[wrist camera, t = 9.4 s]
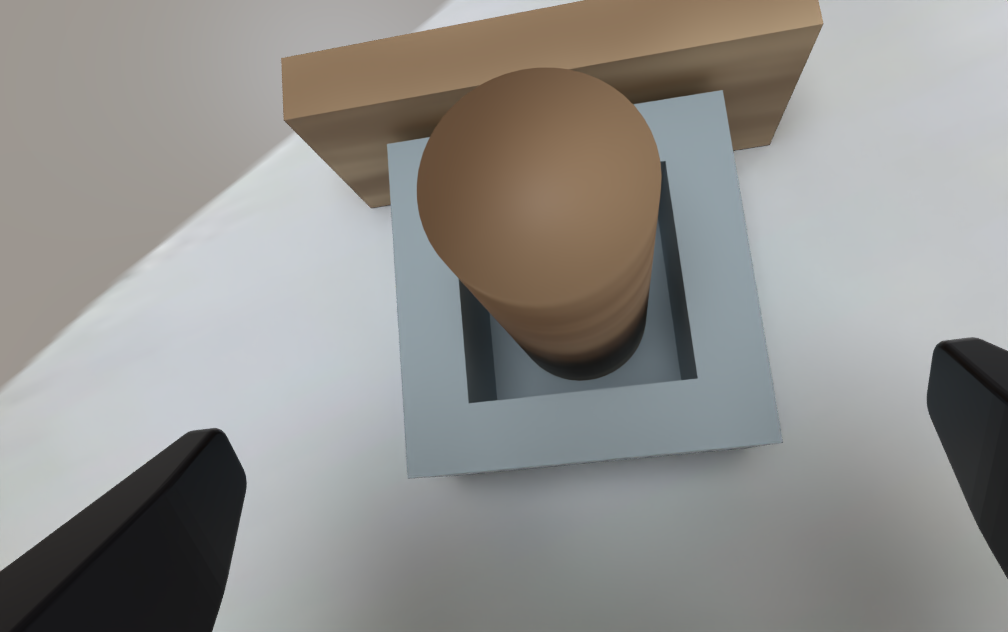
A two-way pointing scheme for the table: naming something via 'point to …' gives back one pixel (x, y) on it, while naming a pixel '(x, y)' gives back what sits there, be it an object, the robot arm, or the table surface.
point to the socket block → (635, 385)
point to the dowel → (548, 213)
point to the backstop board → (548, 44)
